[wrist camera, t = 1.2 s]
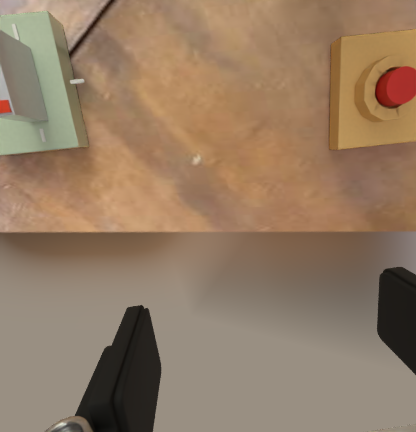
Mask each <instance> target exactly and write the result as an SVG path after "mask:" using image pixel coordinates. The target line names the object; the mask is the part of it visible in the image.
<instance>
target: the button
mask: <svg viewBox="0 0 416 432" xmlns="http://www.w3.org/2000/svg"><path fill="white" fill-rule="evenodd" d="M415 95H416V70H415V69H414V68H412V67H410V66H403V67H400V68H397V69H395V70H392V71H389V72H387V73H386V74H384V75H383V76H382V77H381V78H380V79H379V81H378V83H377V86H376V97H377V100H378V101H379V102H380V103H381V104H382V105H384V106H395V105H400V104H404V103H407V102H409V101H410V100H412V99H413V98H414V97H415Z"/></svg>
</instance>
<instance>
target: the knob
mask: <svg viewBox="0 0 416 432" xmlns="http://www.w3.org/2000/svg"><path fill="white" fill-rule="evenodd" d="M0 118H2V119H9V120H15V121H22V122H29V123H32V122H42V121H48V116H47V112H46V108H45V105H44V101H43V97H42V93H41V89H40V85H39V81H38V77H37V73H36V69H35V65H34V61H33V57H32V53H31V49H30V47H28V46H27V45H25V44H23V43H22V42H20V41H18V40H17V39H15V38H13V37H12V36H10V35H8V34H7V33H5V32H3V31H2V30H0Z"/></svg>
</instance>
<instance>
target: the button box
mask: <svg viewBox="0 0 416 432" xmlns="http://www.w3.org/2000/svg"><path fill="white" fill-rule="evenodd" d="M403 66H410V67H412V68H414V69H415V70H416V29H413V30H403V31H393V32H383V33H373V34H363V35H353V36H343V37H340V38H339V39H338V40H336V41H335V42H334V43H332V44H331V81H330V135H329V149H330V150H340V149H349V148H358V147H367V146H376V145H385V144H394V143H404V142H413V141H416V95H415V97H414V98H413V99H412V100H410V101H409V102H407V103H404V104H400V105H395V106H384V105H382V104H381V103H380V102H379V101H378V100H377V97H376V86H377V83H378V81H379V79H380V78H381V77H382V76H383V75H384V74H386V73H387V72H389V71H392V70H395V69H397V68H400V67H403Z"/></svg>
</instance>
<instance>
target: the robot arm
mask: <svg viewBox="0 0 416 432" xmlns="http://www.w3.org/2000/svg"><path fill="white" fill-rule="evenodd" d="M377 323H378V324H377V332H378V335H379V337H380V338H381V340H382V341H383V342H384V343H385V344H386V345H387V346H388V347H389V348H390V349H391V350H392V351H393V352H394V353H395V354H396V355H397V356H398V357H399V358H400V359H401V360H402V361H403V362H404V363H405V364H406V365H407V366H408V367H409V368H410V369H411V370H412V372H413V373H415V375H416V275H415V274H413V273H412V272H410V271H408V270H406V269H405V268H403V267H396V268H388V269H385V270H384V271H383V273H382V274H381V275H380V279H379V301H378V322H377ZM160 378H161V362H160V357H159V353H158V348H157V345H156V340H155V335H154V331H153V326H152V322H151V317H150V313H149V309H148V308H145V309H144V307H143V306H142V305H140V306H133V307H128V308H127V309H126V312H125V314H124V317H123V319H122V322H121V324H120V326H119V329H118V331H117V334H116V336H115V339H114V341H113V343H112V346H107V347H106V348H105V349H104V351H103V353H102V355H101V358H100V360H99V362H98V364H97V367H96V369H95V371H94V373H93V376H92V378H91V380H90V382H89V385H88V387H87V389H86V391H85V394H84V396H83V398H82V401H81V403H80V405H79V407H78V410H77V412H76V414H75V416H72V417H68V418H65V419H62V420H60V421H58V422H57V423H55V424H53V425H52V426H51V427H50V428H48V429H47V430H46V431H45V432H153V426H154V419H155V412H156V405H157V398H158V391H159V384H160ZM369 432H416V424H414V425H407V426H401V427H395V428H388V429H382V430H375V431H369Z"/></svg>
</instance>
